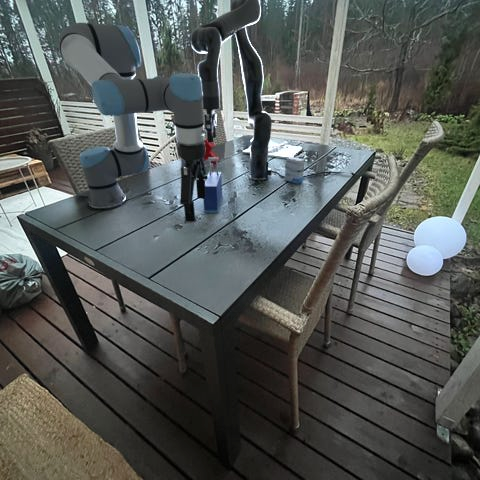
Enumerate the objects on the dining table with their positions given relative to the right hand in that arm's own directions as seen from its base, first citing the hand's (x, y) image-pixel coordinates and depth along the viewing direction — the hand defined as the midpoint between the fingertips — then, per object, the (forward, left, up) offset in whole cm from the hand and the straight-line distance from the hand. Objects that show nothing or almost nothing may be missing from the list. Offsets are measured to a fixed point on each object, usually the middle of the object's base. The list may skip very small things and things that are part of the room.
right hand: (212, 139), depth 110 cm
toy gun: (+8, -54, -26) cm, 60 cm away
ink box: (-41, -20, -26) cm, 53 cm away
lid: (+1, +5, -16) cm, 17 cm away
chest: (+1, +5, -26) cm, 27 cm away
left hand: (+5, +37, -13) cm, 39 cm away
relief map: (-40, -80, -26) cm, 93 cm away
